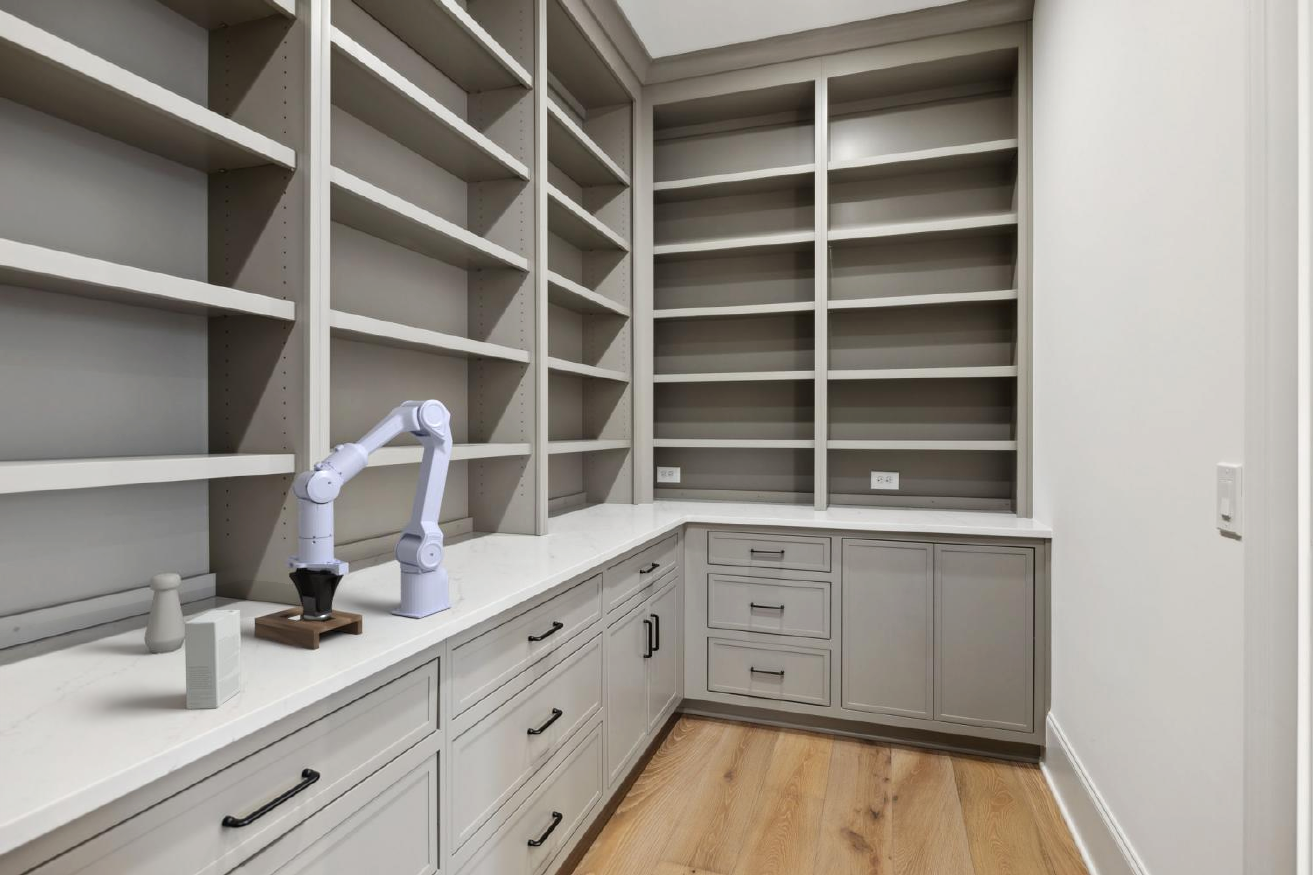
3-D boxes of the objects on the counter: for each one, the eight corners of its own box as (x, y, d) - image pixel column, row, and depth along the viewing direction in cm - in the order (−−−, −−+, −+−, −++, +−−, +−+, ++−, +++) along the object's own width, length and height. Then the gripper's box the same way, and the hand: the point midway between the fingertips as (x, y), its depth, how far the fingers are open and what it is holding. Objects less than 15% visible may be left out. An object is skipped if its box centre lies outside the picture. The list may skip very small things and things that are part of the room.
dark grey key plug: (320, 625, 122) (320, 590, 122) (336, 628, 120) (336, 593, 120) (298, 632, 118) (298, 596, 118) (315, 635, 116) (314, 599, 116)
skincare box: (211, 691, 94) (211, 609, 94) (242, 690, 94) (241, 609, 94) (184, 709, 88) (183, 622, 88) (216, 709, 88) (216, 621, 88)
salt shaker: (163, 656, 108) (162, 579, 108) (135, 654, 109) (134, 577, 109) (194, 645, 114) (194, 571, 114) (167, 642, 115) (167, 570, 115)
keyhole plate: (304, 621, 127) (304, 604, 127) (362, 633, 121) (362, 614, 121) (254, 636, 118) (254, 618, 118) (313, 649, 112) (313, 630, 112)
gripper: (269, 536, 118) (270, 610, 118) (323, 542, 112) (324, 620, 112) (305, 530, 124) (305, 601, 124) (358, 536, 118) (358, 610, 118)
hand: (316, 609), depth 119 cm, fingers closed on dark grey key plug, 3 cm apart
